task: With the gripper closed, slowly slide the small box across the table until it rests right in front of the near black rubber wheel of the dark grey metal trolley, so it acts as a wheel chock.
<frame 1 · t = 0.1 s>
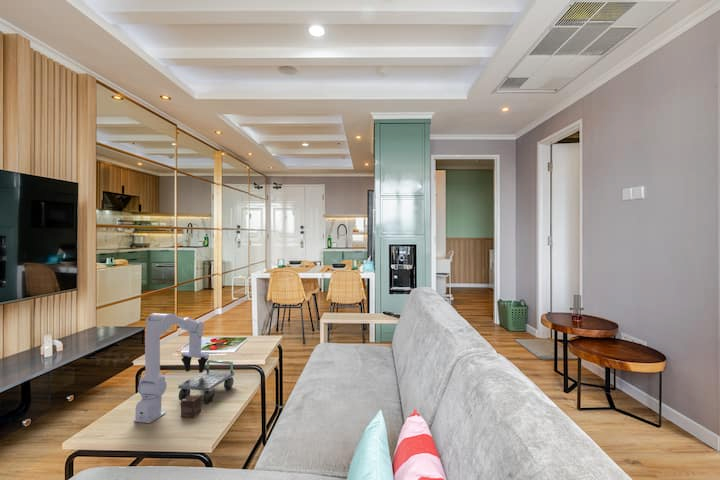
hand: (194, 371, 176), 10 cm above the table, tool pointing down, fingers open, 7 cm apart
box: (190, 415, 151), on the table
trolley: (207, 394, 172), on the table
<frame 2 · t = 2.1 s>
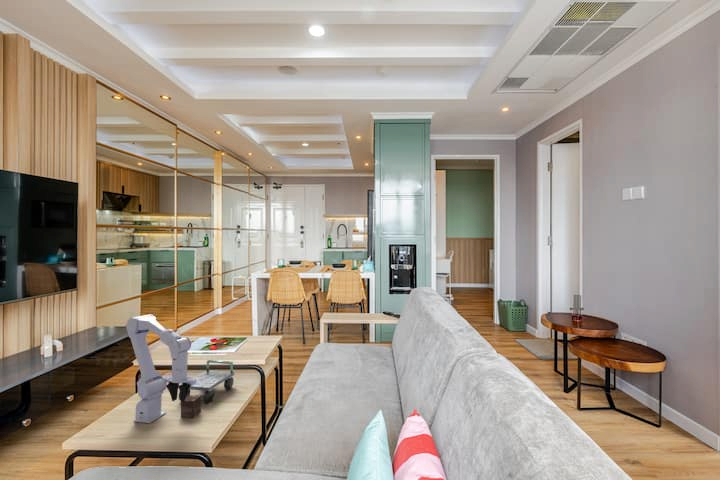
hand: (178, 400, 143), 9 cm above the table, tool pointing down, fingers open, 3 cm apart
nothing on the table moved.
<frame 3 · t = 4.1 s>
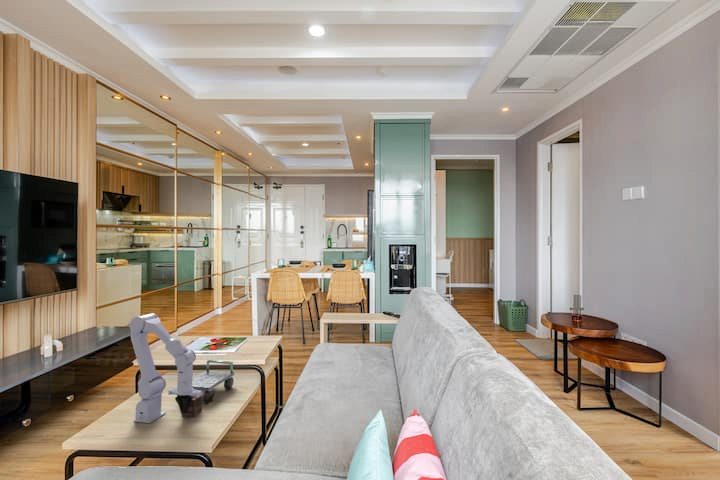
hand: (184, 412, 146), 3 cm above the table, tool pointing down, fingers closed, pressing on box
box: (191, 414, 151), on the table, touching gripper
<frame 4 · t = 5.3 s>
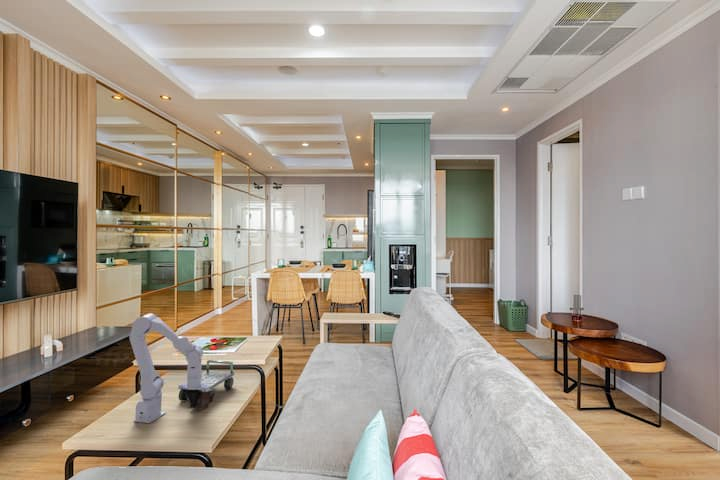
hand: (193, 406, 152), 3 cm above the table, tool pointing down, fingers closed, pressing on box
box: (198, 408, 156), point 1 cm above the table, touching gripper
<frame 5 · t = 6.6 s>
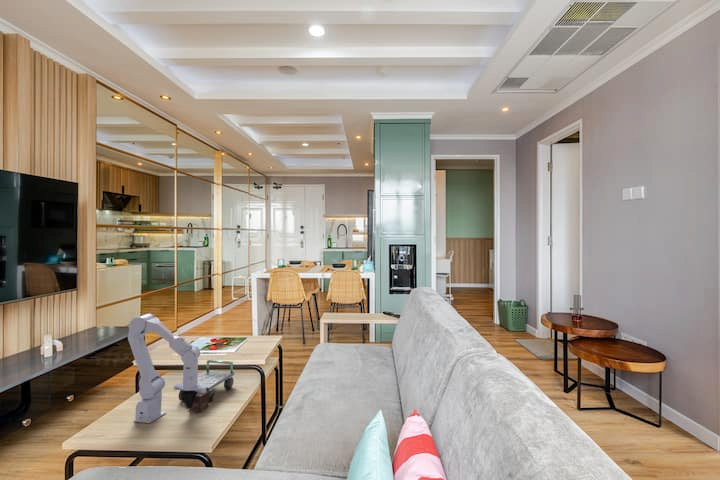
hand: (189, 407, 150), 4 cm above the table, tool pointing down, fingers closed
box: (198, 410, 156), on the table
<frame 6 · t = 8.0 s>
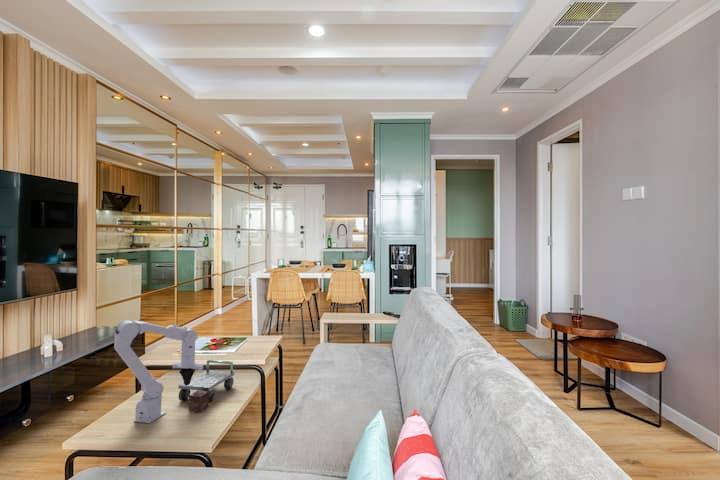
hand: (187, 384, 159), 10 cm above the table, tool pointing down, fingers closed
nothing on the table moved.
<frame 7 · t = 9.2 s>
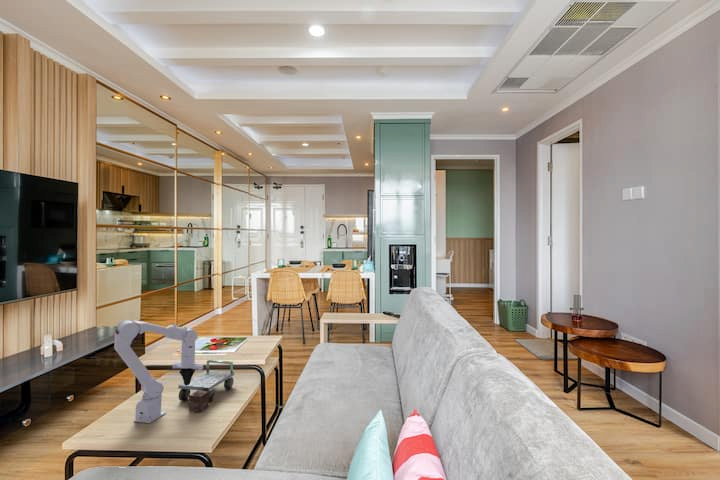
hand: (187, 384, 159), 10 cm above the table, tool pointing down, fingers closed
nothing on the table moved.
at the end: box 0.5 cm from the target spot on the table beside the trolley, on the table; box tilted 0°; box moved 5.2 cm from its start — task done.
